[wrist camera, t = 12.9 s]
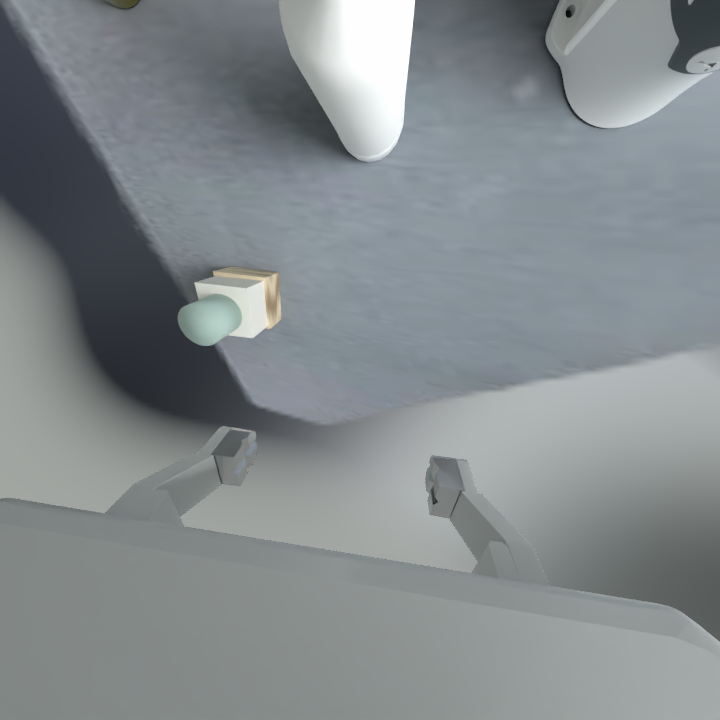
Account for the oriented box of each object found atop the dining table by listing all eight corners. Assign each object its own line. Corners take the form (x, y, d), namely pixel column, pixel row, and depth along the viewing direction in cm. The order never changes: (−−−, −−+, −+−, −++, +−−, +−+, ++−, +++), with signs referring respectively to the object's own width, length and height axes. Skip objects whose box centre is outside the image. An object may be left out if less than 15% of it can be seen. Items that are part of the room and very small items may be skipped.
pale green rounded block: (200, 291, 34) (172, 302, 29) (239, 296, 34) (216, 306, 29) (208, 328, 36) (183, 343, 32) (244, 333, 36) (224, 348, 32)
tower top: (217, 275, 38) (194, 282, 33) (263, 280, 37) (246, 288, 33) (225, 320, 41) (205, 332, 37) (267, 325, 41) (252, 338, 36)
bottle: (399, 164, 33) (429, -66, 7) (339, 163, 34) (153, -52, 7) (406, 77, 29) (540, -1196, 3) (339, 78, 30) (-42, -977, 4)
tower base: (231, 266, 42) (212, 271, 37) (279, 271, 41) (265, 277, 37) (237, 313, 46) (221, 322, 41) (281, 318, 45) (269, 329, 41)
